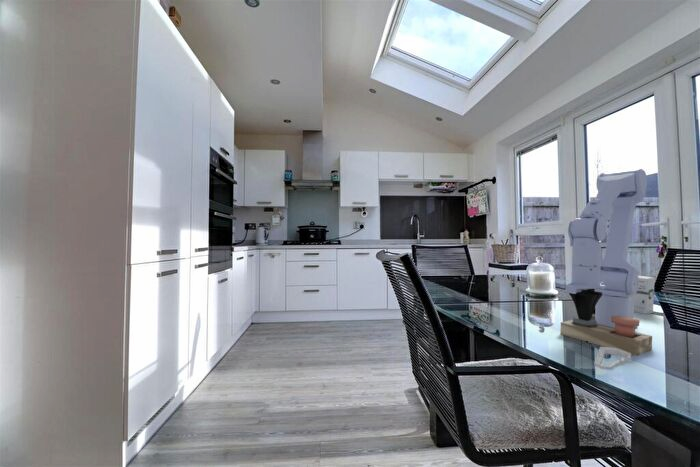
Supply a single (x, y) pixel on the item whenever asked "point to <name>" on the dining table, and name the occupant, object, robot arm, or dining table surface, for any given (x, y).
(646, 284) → the ink box
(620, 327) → the brick plug
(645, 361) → the dining table surface
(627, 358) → the stepped key frame
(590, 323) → the grey plug
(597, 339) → the socket block
